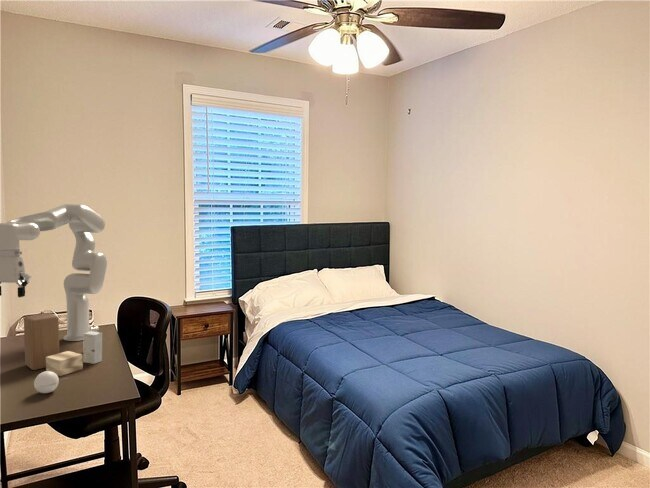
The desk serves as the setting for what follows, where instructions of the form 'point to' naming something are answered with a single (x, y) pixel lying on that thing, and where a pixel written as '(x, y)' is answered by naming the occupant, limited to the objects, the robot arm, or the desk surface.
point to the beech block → (64, 362)
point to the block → (40, 339)
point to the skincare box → (92, 347)
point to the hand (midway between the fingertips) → (9, 296)
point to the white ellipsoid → (46, 382)
